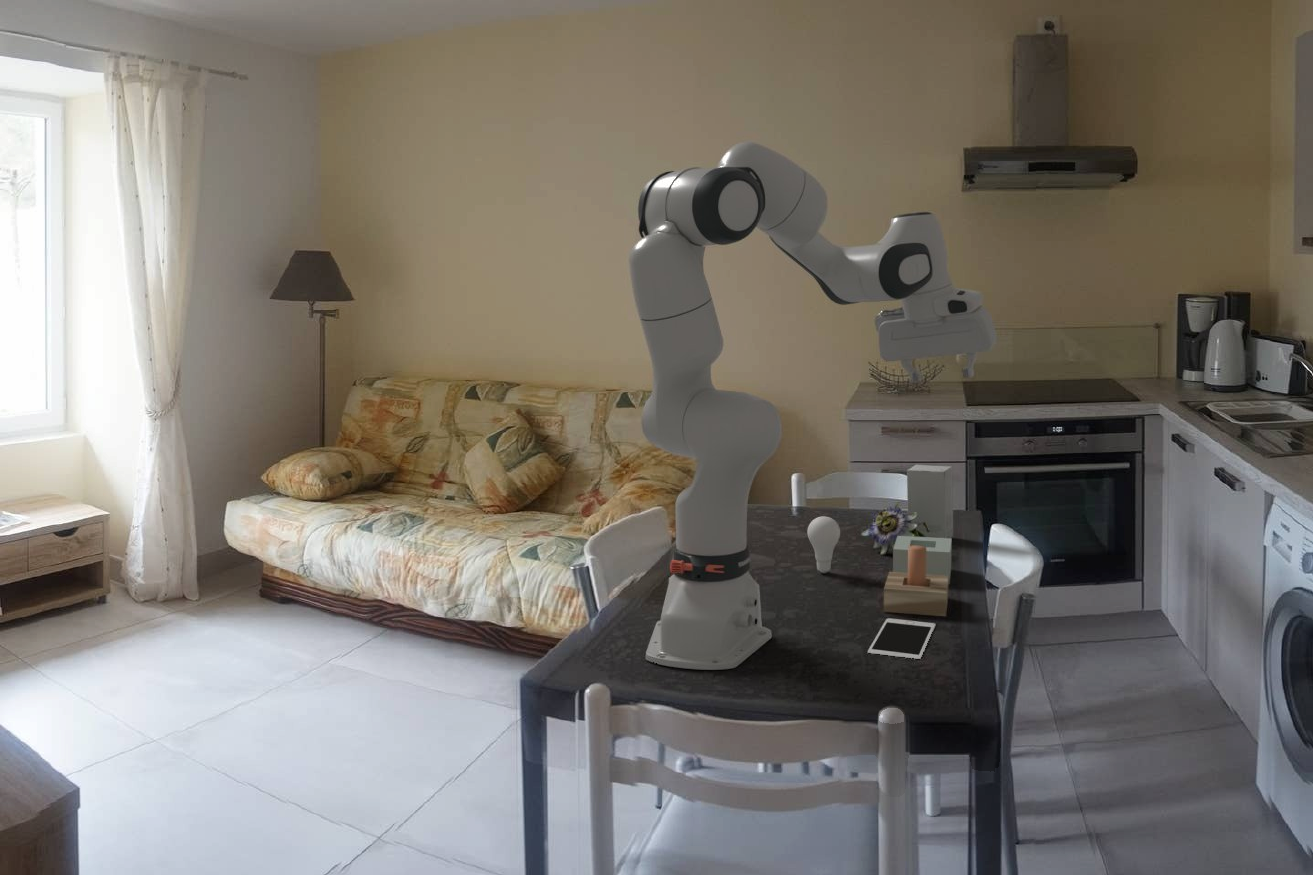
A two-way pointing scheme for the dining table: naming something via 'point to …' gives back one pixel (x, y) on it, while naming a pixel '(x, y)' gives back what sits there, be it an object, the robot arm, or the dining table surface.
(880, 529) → the passion flower
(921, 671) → the dining table surface
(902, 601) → the mount
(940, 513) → the skincare box
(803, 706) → the dining table surface
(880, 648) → the cell phone
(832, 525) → the lightbulb
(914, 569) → the pin
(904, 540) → the socket
